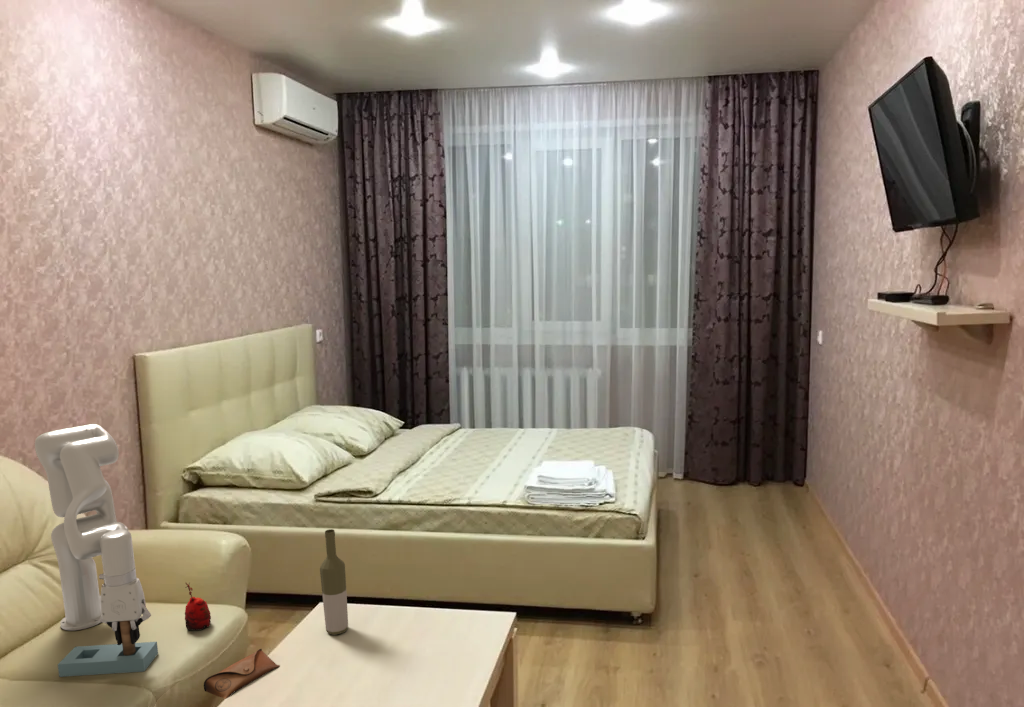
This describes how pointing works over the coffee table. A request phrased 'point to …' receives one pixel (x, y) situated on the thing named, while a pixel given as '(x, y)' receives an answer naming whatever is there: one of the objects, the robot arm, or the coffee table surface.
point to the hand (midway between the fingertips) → (128, 641)
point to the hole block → (107, 659)
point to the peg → (126, 638)
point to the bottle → (334, 588)
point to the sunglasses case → (239, 674)
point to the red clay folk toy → (196, 613)
